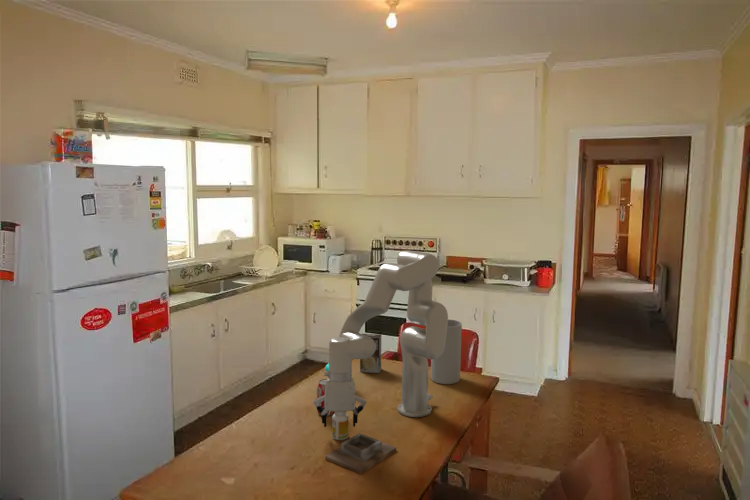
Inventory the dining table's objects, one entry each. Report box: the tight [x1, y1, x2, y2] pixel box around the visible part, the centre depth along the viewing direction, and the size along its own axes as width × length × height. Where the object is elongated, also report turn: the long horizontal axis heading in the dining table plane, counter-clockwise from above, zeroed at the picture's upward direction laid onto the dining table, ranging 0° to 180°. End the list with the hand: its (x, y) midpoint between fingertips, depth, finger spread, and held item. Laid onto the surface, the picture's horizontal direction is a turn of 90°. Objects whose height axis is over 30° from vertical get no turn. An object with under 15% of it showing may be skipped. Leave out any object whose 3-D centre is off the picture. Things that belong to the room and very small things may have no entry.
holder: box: [324, 432, 397, 475], centre depth 171 cm, size 18×14×4 cm
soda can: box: [316, 378, 334, 417], centre depth 200 cm, size 7×7×12 cm
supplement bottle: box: [331, 411, 349, 441], centre depth 182 cm, size 5×5×10 cm
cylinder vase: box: [430, 318, 463, 385], centre depth 234 cm, size 12×12×25 cm
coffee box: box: [359, 333, 382, 374], centre depth 245 cm, size 9×6×16 cm
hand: (339, 425), depth 182 cm, fingers open, 9 cm apart
